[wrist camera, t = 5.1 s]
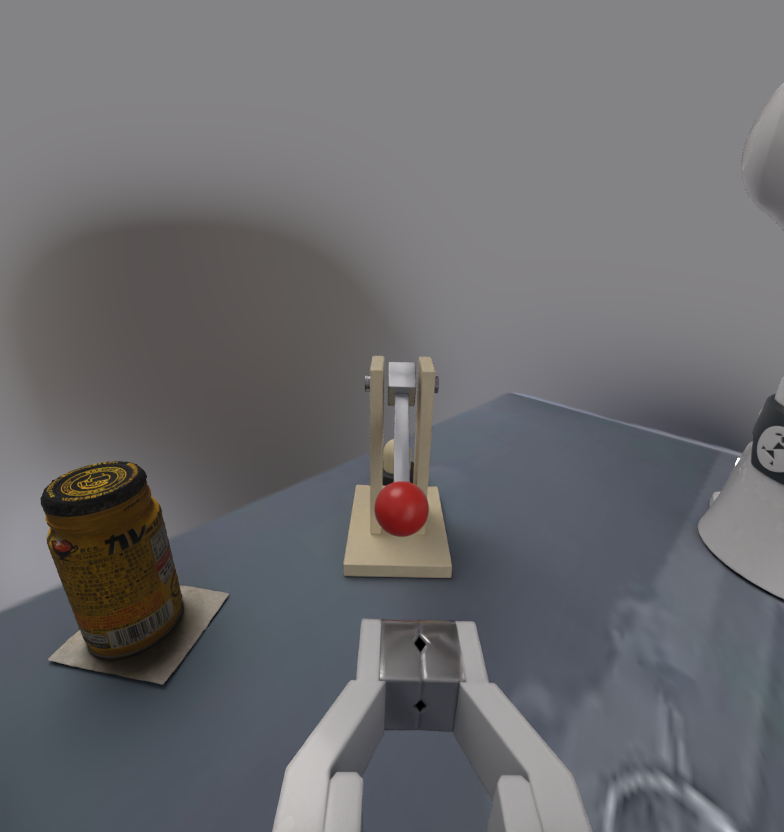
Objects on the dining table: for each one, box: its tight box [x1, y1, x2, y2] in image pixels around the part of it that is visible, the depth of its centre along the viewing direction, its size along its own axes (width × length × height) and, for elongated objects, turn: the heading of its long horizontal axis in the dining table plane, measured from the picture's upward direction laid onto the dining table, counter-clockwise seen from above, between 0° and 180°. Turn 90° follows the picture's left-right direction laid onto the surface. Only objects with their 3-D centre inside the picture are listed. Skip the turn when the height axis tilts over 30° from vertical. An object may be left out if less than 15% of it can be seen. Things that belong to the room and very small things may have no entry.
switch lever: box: [374, 362, 429, 537], centre depth 29 cm, size 14×4×4 cm, turn 179°
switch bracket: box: [343, 356, 452, 578], centre depth 35 cm, size 12×9×17 cm
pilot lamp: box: [383, 439, 414, 486], centre depth 46 cm, size 5×5×5 cm
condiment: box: [41, 461, 229, 685], centre depth 26 cm, size 7×8×12 cm
